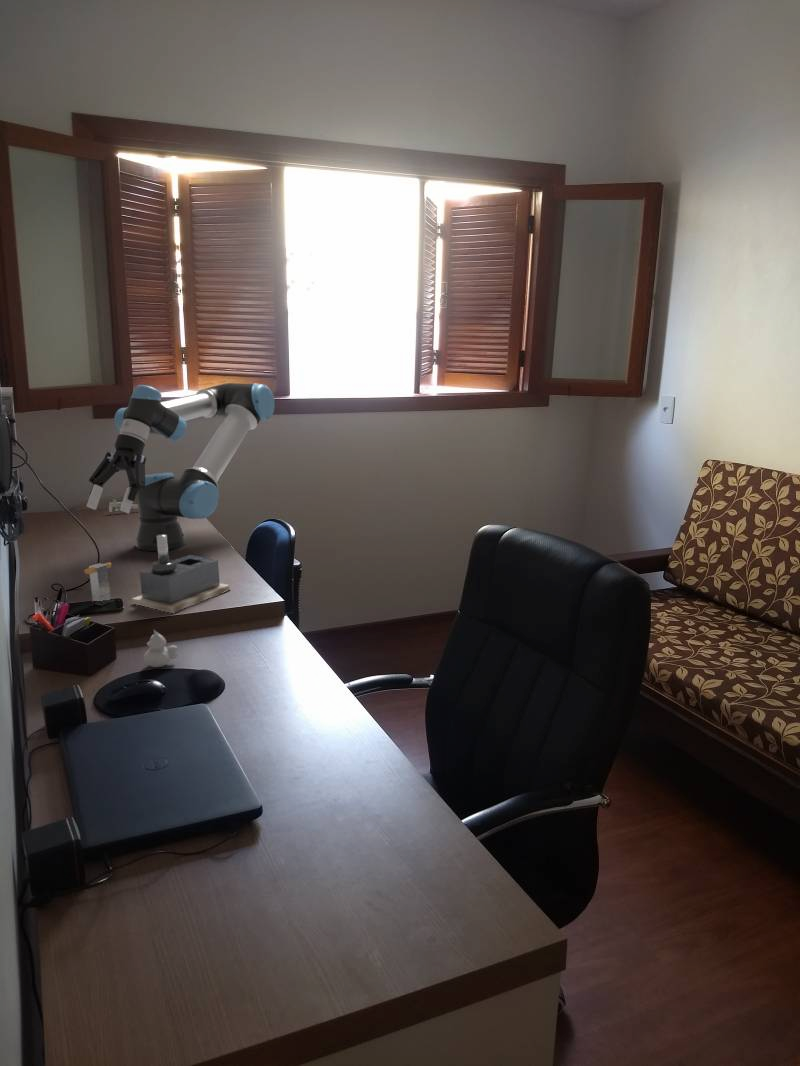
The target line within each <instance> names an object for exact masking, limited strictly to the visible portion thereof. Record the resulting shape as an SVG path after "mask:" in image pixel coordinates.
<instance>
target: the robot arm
mask: <svg viewBox="0 0 800 1066" xmlns="http://www.w3.org/2000/svg"><path fill="white" fill-rule="evenodd" d="M129 399H130V400H129V402H128V406H127V407H121V408H119V409H118V410H117V411H116V412H115V415H114V425H115V427H116V428H117V430H118V431H119V435H117V437H116V440H115V443H114V448H115V450H116V451H115V452H114V453H112V452H110V451H107V452H106V454H105V455H104V458H103V460H102V461H101V463H100V464H99V465H98V466H97V468H96V469H95V471H93V473H92V475H91V476H90V477H89V479H88V482H89V483H91V484H92V487H91V491H90V493H89V498H88V501H87V502H86V503H87V504H86V507H87V508H90V509H92V510H97V509H98V505H99V503H100V500H101V496H102V493H103V490H104V485H105V484H106V483H107V482H108V481H109V480H110V479H111V478H112V477H113V476H114V475H115V474H116V473H118V472H120V471H126V476H127V480H128V486H127V488H126V490H125V493H124V496H123V499H122V504H121V507H120V509H119V511H120V512H124V513H126V514H128V515H129V514H130V511H131V509H132V508H131V506H132V504H133V503H134V501H135V500H137V505H138V509H137V510H138V517H139V519H138V520H139V523H138V524H139V525H138V530H137V534H136V535H137V536H136V538H135V547H137V548H136V549H138V550H141V551H144V552H145V551H148V552H158V546H157V535H161V534H165V535H167V544H168V551H169V550H174V549H178V548H180V547H183V546H184V545H185V544H186V537H185V534H184V532H183V530H182V527H181V524H180V523H179V520H178V517H181V518H186V519H190V520H193V519H194V520H197V519H198V520H201V519H206V518H208V517H209V516H211V515H212V514H213V513H214V512H215V510H216V508H217V506H218V503H219V500H218V499H219V498H220V497H219V496H220V494H219V491H218V490H219V485H218V481H219V479H220V477H221V476H222V475H223V472H224V471H225V470H226V468H227V466H228V465H229V463H230V461H231V460H232V458H233V457H234V455H235V453H236V451H237V450H238V449H239V447H240V446H241V444H242V442H243V441H244V439H245V437H246V435H247V434H248V432H249V431H251V430H252V431H253V430H255V429H256V428H257V427H258V425H259V424H260V422H261V421H262V420H263V421H266V420H270V418H272V416H273V415H274V412H275V404H276V403H275V397H274V395H273V391H272V390H271V389H270V387H269V386H267V385H266V384H262V383H256V382H255V383H238V382H237V383H236V382H228V383H222V384H218V385H214V386H210V387H207V388H202V389H199V390H198V391H197V392H196V393H194V394H190V395H185V396H181V397H180V396H179V397H176V398H173V399H168V400H163V401H162V393H161V392H160V391H159V390H158V389H157V388H155V387H152V386H150V385H145V384H138V385H137V386H135V387H134V389H133V391H132V394H131V396H130V398H129ZM202 417H203V418H206V419H211V418H214V417H218V418H224V419H223V420H222V422H221V423H220V425H219V426H218V428H217V430H216V431H215V433H214V434H213V436H212V437H211V439H210V440H209V441H208V443H207V445H206V446H205V448H204V450H203V451H202V453H201V454H200V456H199V458H198V459H197V460H196V461H195V464H193V466H192V467H187V468H186V469H184V471H183V473H182V474H181V476H180V477H179V478H175V475H174V472H169V471H168V472H160V473H158V472H157V473H152V474H146V461H147V457H146V456H144V455H142V454H143V452H144V450H145V446H146V444H145V443H146V442H147V441H148V438H149V435H155V436H162V437H164V438H165V439H167V440H170V441H173V442H176V441H179V440H180V439H182V438H183V437H184V436H185V434H186V432H187V428H188V426H187V425H188V424H187V421H189V420H193V419H198V418H202ZM133 505H134V504H133Z"/></svg>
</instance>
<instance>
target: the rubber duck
mask: <svg viewBox="0 0 800 1066" xmlns="http://www.w3.org/2000/svg"><path fill="white" fill-rule="evenodd" d="M146 645H147V646H148V649H147V651H146V652H145V653H144V654H143V660H144V662H145V663H146V664H147V665H149V666H150V667H152V668H163V667H165V666H166V665H167V664H168V663H170V661H171V660H173V659H177V658H178V653H177V652H178V646H177V645H174V644H172V645H168V646H166V645H167V640H166V637H164V635H162V634H161V633H159V632H158V631H156V630H155V629H153V633H152V635H151V636H150V638H149V641H148V642H146Z"/></svg>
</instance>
